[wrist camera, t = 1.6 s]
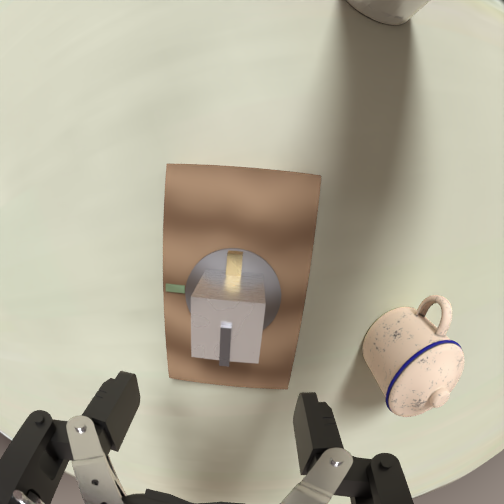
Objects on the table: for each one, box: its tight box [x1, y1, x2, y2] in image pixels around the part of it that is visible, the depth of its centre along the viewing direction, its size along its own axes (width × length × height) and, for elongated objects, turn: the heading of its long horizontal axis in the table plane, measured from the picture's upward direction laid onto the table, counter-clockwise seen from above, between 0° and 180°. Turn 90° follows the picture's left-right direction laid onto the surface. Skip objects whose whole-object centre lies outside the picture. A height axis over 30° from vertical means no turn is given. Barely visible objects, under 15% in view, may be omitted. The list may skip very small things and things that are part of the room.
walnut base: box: [163, 164, 321, 389], centre depth 25 cm, size 22×13×3 cm, turn 175°
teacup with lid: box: [363, 295, 464, 417], centre depth 22 cm, size 12×9×12 cm
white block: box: [191, 250, 266, 367], centre depth 21 cm, size 8×5×6 cm, turn 175°
